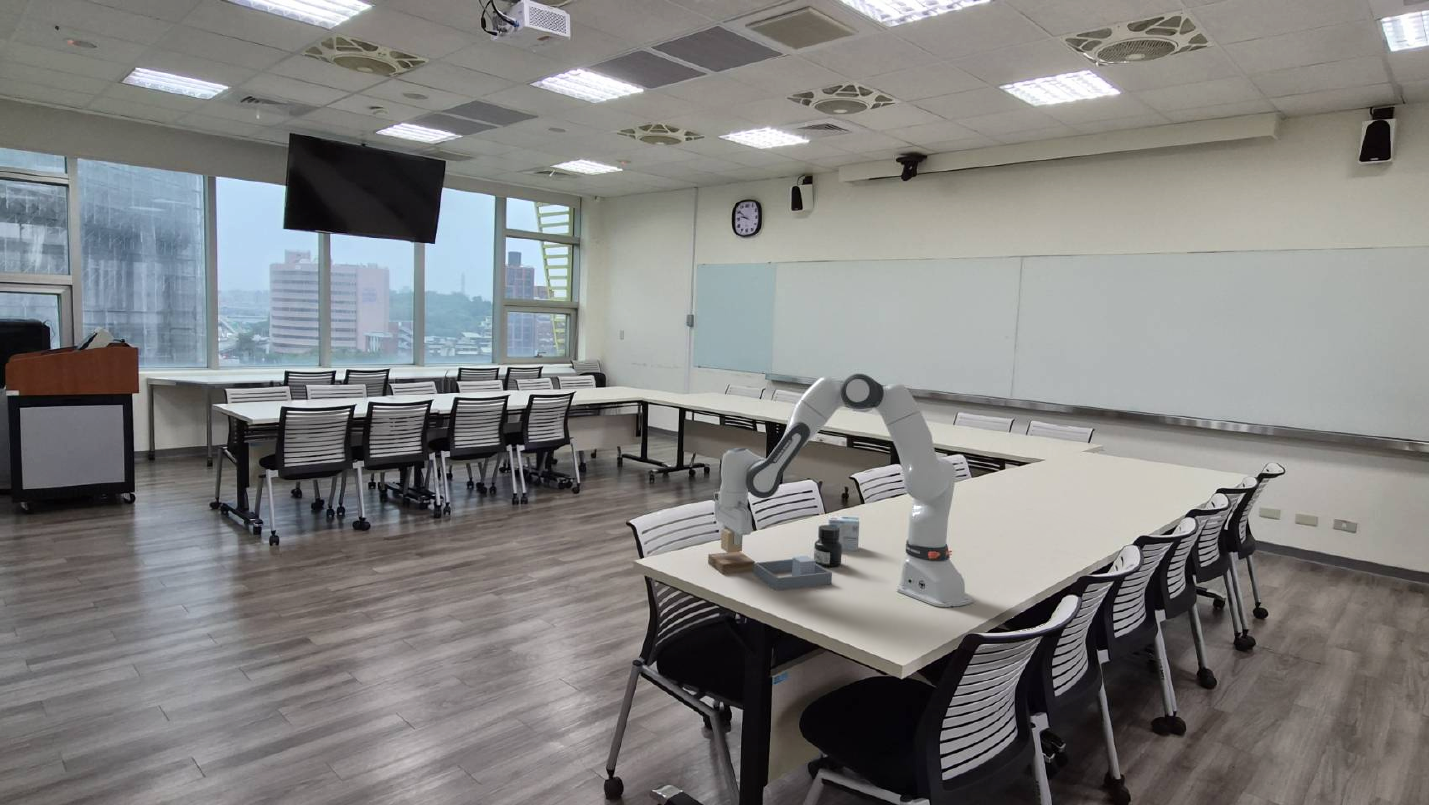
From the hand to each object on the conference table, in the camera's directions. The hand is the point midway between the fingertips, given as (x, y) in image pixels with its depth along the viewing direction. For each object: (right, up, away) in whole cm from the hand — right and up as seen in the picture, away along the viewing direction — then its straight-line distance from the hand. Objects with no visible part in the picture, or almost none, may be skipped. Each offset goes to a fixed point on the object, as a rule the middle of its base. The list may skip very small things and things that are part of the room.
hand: (731, 541), depth 247 cm
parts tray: (+18, -10, -8) cm, 22 cm away
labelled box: (0, -3, 0) cm, 3 cm away
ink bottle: (+31, -9, +8) cm, 34 cm away
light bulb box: (+39, -7, +27) cm, 48 cm away
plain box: (+22, -10, -7) cm, 25 cm away
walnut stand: (0, -8, +1) cm, 8 cm away
